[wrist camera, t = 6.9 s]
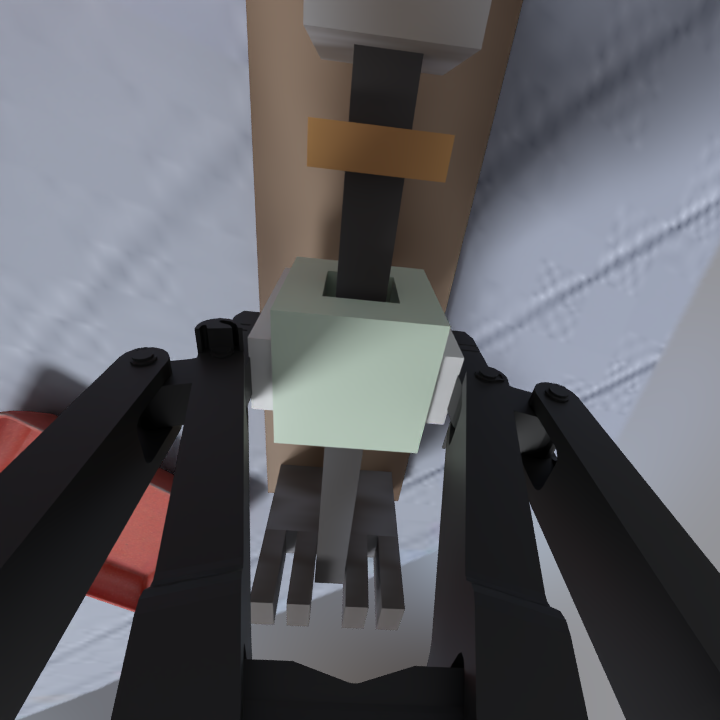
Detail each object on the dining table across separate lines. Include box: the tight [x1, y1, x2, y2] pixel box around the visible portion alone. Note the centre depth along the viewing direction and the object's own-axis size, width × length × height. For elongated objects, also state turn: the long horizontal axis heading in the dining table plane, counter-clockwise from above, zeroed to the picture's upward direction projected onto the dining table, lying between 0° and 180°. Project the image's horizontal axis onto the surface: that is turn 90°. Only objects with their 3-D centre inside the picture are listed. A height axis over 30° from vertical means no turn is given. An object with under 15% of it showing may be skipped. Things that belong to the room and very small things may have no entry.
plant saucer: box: [0, 411, 174, 612], centre depth 30 cm, size 18×18×3 cm
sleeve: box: [270, 257, 451, 453], centre depth 13 cm, size 5×5×5 cm
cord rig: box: [246, 0, 523, 630], centre depth 17 cm, size 10×30×10 cm, turn 174°
